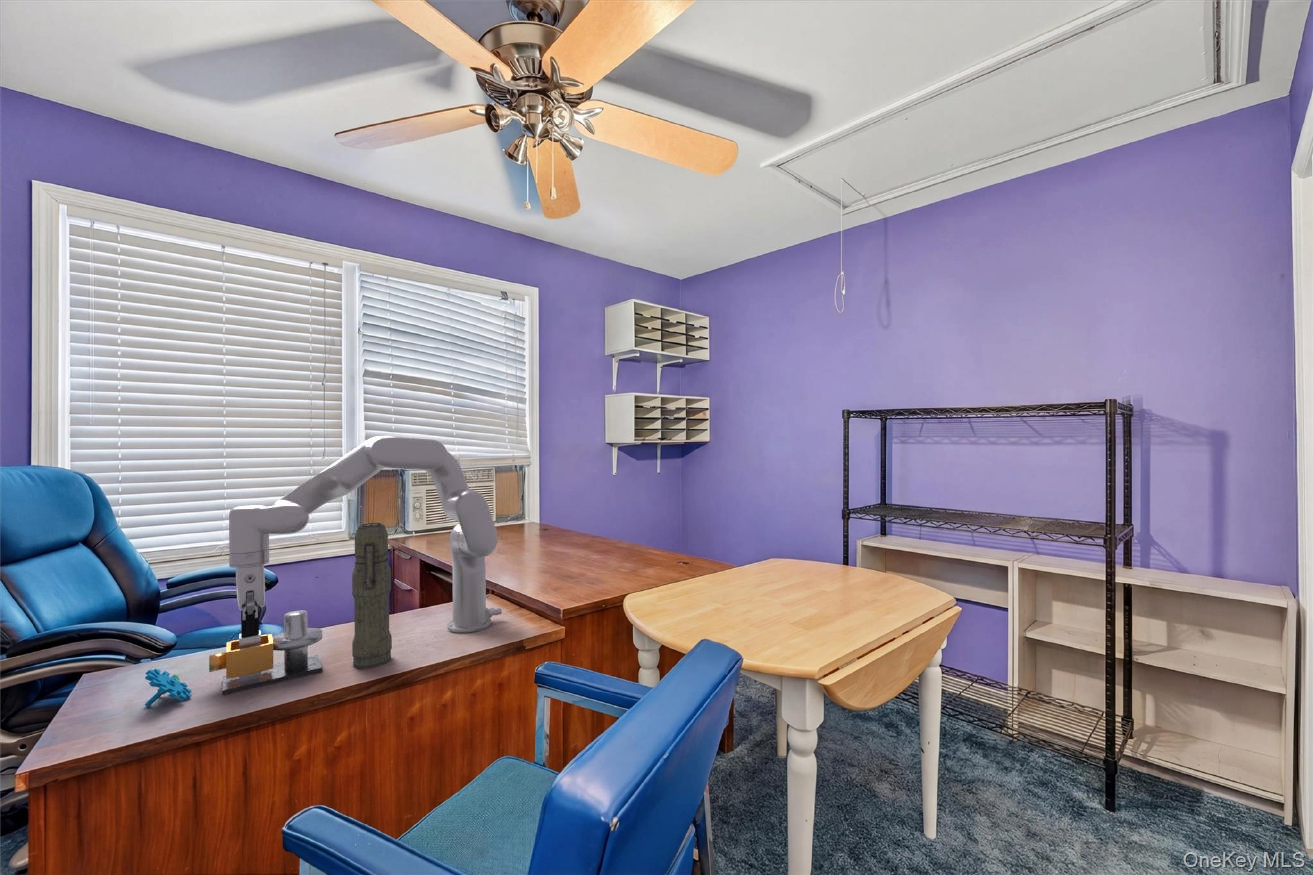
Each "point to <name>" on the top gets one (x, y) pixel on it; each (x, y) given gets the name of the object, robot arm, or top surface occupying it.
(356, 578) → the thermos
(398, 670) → the top surface
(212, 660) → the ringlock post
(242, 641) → the tall grey block
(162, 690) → the blue splat shape
